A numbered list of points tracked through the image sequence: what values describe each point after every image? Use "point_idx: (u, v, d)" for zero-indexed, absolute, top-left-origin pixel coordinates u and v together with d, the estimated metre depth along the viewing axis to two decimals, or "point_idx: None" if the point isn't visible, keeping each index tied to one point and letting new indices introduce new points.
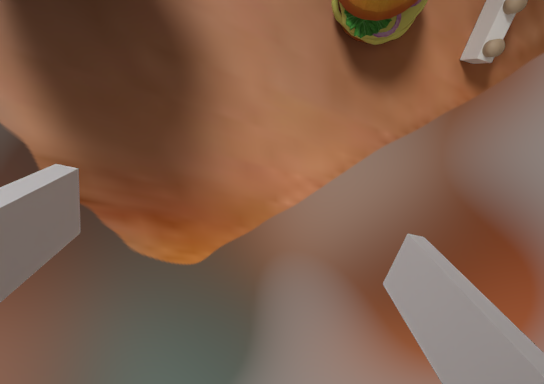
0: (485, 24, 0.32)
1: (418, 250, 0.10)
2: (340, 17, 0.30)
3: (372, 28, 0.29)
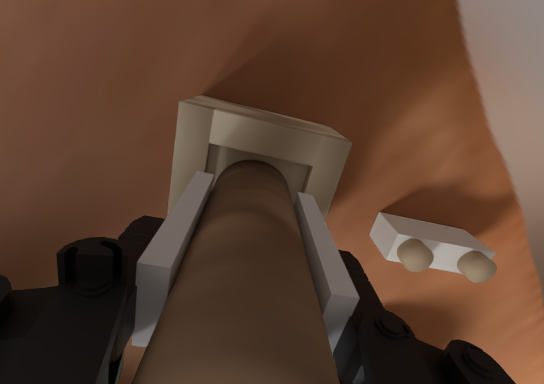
0: None
1: (299, 203, 0.12)
2: None
3: None
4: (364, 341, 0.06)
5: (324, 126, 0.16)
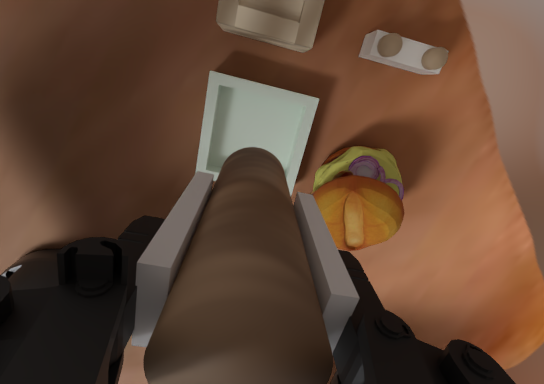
0: (396, 64, 0.26)
1: (299, 203, 0.12)
2: None
3: None
4: (364, 341, 0.06)
5: None
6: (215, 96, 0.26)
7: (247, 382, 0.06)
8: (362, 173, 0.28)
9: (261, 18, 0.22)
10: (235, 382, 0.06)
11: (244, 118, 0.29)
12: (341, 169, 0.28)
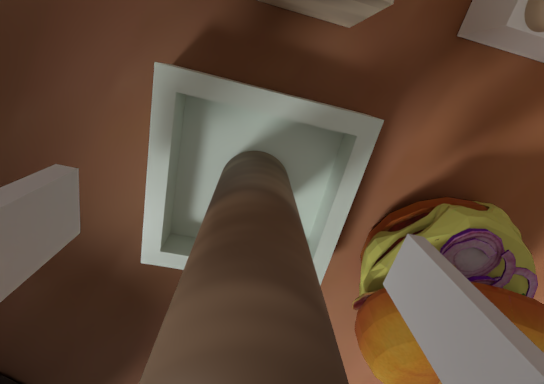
0: None
1: (418, 250, 0.10)
2: None
3: None
4: None
5: None
6: (170, 116, 0.12)
7: None
8: (466, 260, 0.14)
9: None
10: None
11: (233, 154, 0.15)
12: None
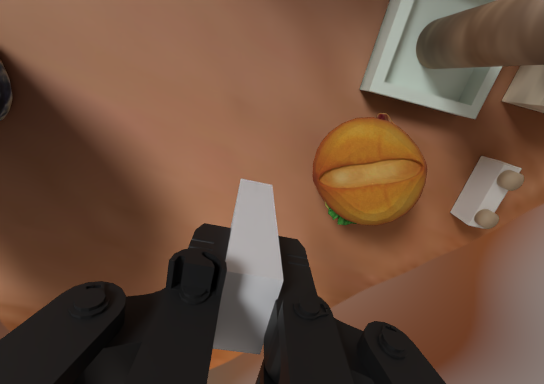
0: (477, 189, 0.29)
1: (255, 193, 0.12)
2: None
3: None
4: (281, 327, 0.06)
5: None
6: None
7: None
8: None
9: None
10: None
11: None
12: None
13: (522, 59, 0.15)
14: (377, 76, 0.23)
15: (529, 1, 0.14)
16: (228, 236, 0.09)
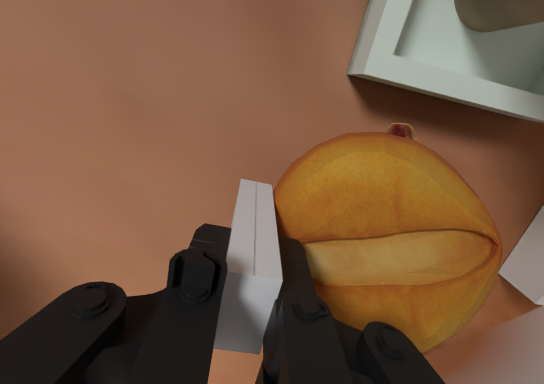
0: None
1: (254, 193, 0.12)
2: None
3: None
4: (281, 327, 0.06)
5: None
6: None
7: None
8: None
9: None
10: None
11: None
12: None
13: None
14: (379, 43, 0.12)
15: None
16: (228, 236, 0.09)
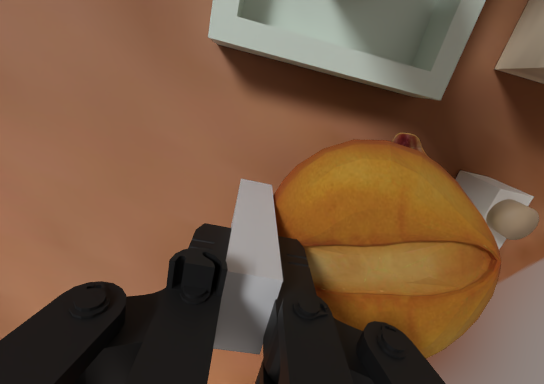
0: None
1: (255, 193, 0.12)
2: None
3: None
4: (281, 327, 0.06)
5: None
6: None
7: None
8: None
9: None
10: None
11: None
12: None
13: None
14: (219, 3, 0.11)
15: None
16: (228, 236, 0.09)
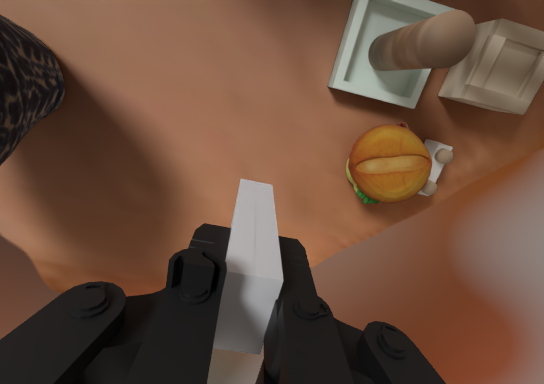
0: None
1: (255, 193, 0.12)
2: (352, 181, 0.37)
3: None
4: (281, 327, 0.06)
5: None
6: (435, 12, 0.29)
7: (444, 41, 0.21)
8: None
9: (492, 57, 0.29)
10: (444, 38, 0.21)
11: None
12: None
13: (420, 64, 0.23)
14: (338, 76, 0.31)
15: (419, 28, 0.22)
16: (228, 236, 0.09)
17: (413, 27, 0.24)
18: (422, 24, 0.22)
